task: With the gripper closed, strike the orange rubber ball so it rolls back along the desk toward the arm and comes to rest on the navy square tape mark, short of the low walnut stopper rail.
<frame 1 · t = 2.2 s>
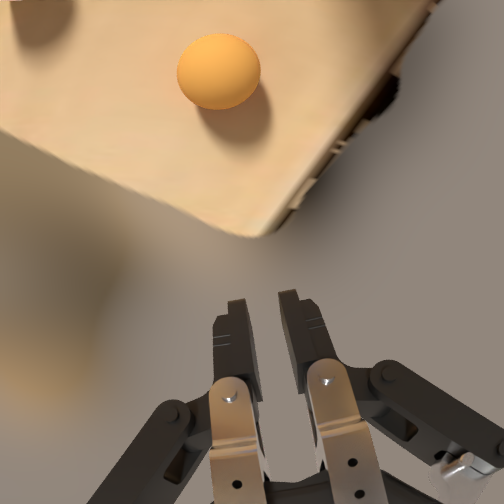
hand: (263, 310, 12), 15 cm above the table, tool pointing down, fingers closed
ball: (218, 71, 17), on the table
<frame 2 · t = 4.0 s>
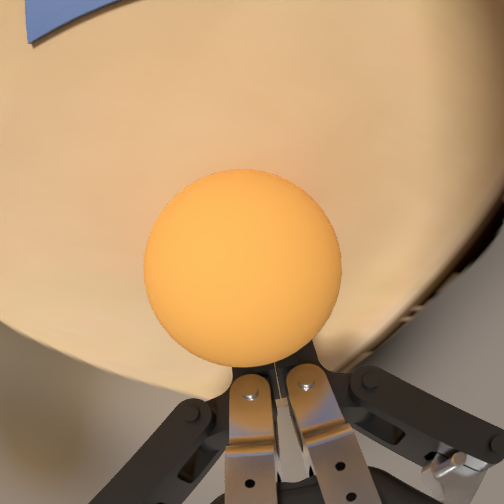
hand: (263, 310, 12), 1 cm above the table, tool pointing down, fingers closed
ball: (242, 268, 8), on the table, touching gripper
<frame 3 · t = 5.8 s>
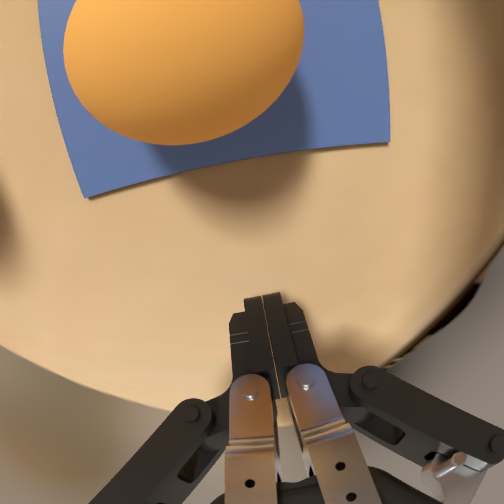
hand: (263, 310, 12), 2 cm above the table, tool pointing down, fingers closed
ball: (182, 35, 5), on the table
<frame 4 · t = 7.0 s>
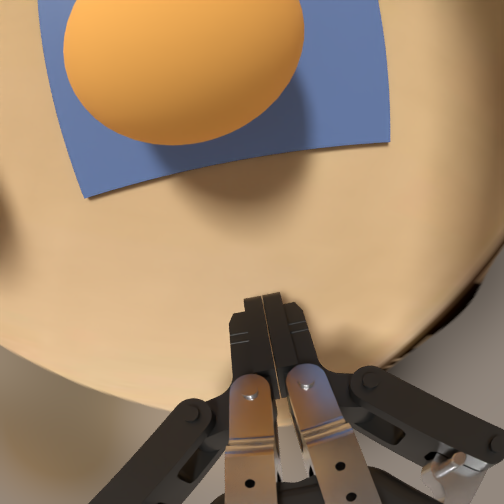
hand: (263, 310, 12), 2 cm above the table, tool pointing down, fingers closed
ball: (182, 35, 5), on the table
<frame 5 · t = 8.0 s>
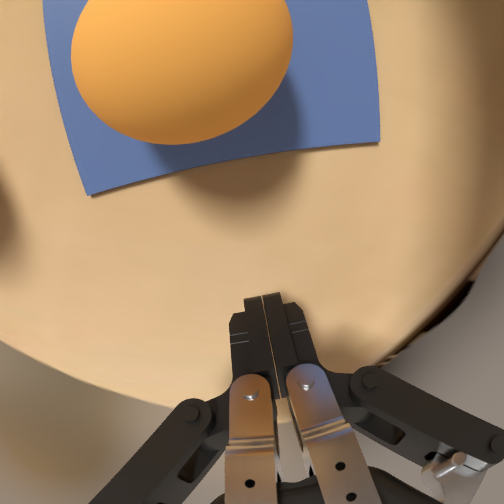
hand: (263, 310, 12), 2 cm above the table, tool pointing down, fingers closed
mark: (203, 6, 7), on the table
ball: (180, 42, 6), on the table
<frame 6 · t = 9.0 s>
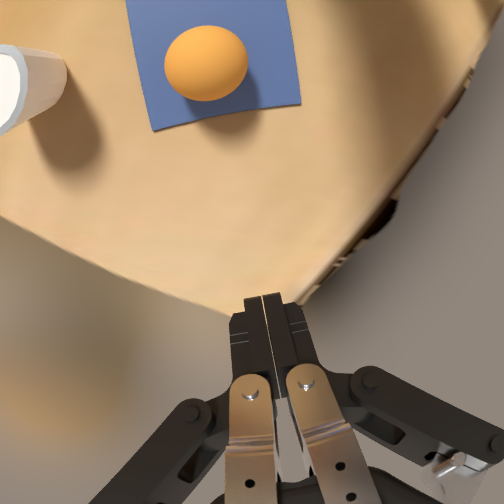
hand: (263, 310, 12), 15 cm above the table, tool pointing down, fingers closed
mark: (213, 43, 18), on the table
white cup: (42, 81, 17), on the table
ball: (206, 62, 16), on the table
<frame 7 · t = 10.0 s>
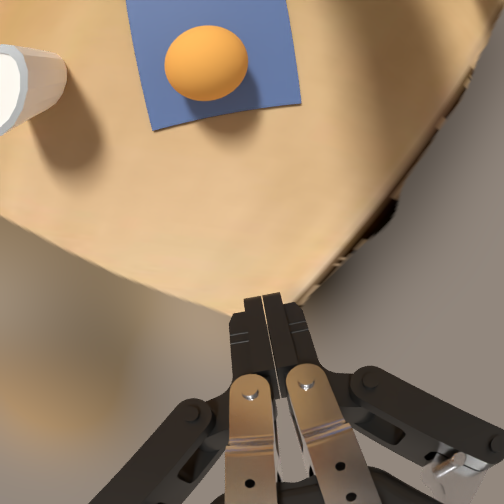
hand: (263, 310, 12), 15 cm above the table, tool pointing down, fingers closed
mark: (213, 43, 18), on the table
white cup: (42, 81, 17), on the table
ball: (206, 62, 16), on the table
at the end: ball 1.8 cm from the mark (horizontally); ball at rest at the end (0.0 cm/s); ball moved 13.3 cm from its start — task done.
